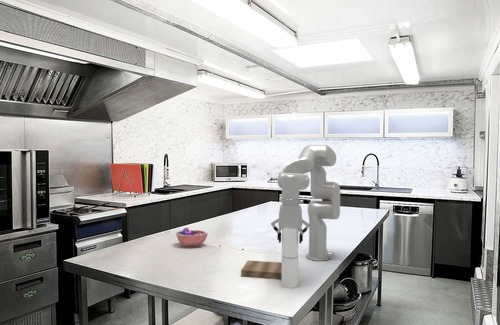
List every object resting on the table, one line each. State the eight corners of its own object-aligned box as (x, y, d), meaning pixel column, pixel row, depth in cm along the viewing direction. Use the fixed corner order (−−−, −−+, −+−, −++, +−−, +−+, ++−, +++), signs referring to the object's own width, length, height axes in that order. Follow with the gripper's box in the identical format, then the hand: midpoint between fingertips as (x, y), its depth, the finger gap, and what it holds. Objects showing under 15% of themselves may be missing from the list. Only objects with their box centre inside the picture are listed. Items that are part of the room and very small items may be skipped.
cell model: (202, 250, 211) (202, 231, 211) (170, 248, 215) (171, 229, 215) (211, 243, 228) (211, 226, 227) (181, 242, 232) (181, 224, 231)
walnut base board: (290, 269, 177) (291, 263, 177) (288, 279, 161) (288, 273, 161) (247, 266, 181) (247, 260, 181) (241, 276, 165) (241, 270, 165)
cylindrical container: (289, 288, 150) (289, 230, 150) (278, 284, 156) (278, 227, 156) (301, 285, 154) (301, 228, 154) (290, 280, 160) (290, 225, 160)
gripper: (310, 202, 157) (310, 241, 157) (271, 200, 160) (271, 239, 160) (310, 204, 149) (310, 245, 150) (269, 203, 153) (269, 243, 153)
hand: (290, 242), depth 155 cm, fingers open, 8 cm apart
